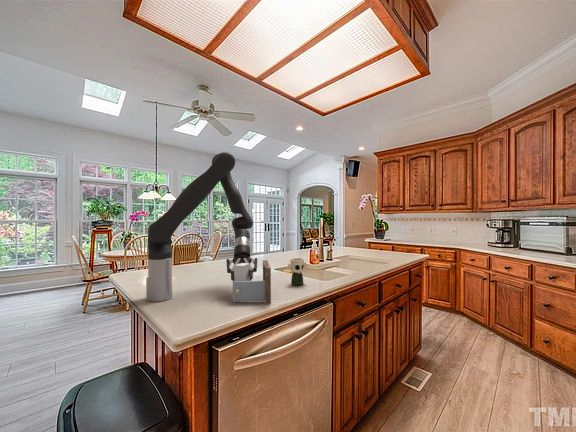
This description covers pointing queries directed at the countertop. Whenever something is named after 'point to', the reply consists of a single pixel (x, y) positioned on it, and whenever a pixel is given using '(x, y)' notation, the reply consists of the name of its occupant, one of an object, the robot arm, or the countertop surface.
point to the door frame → (267, 280)
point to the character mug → (297, 270)
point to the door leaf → (249, 291)
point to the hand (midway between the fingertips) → (241, 280)
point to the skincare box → (241, 272)
